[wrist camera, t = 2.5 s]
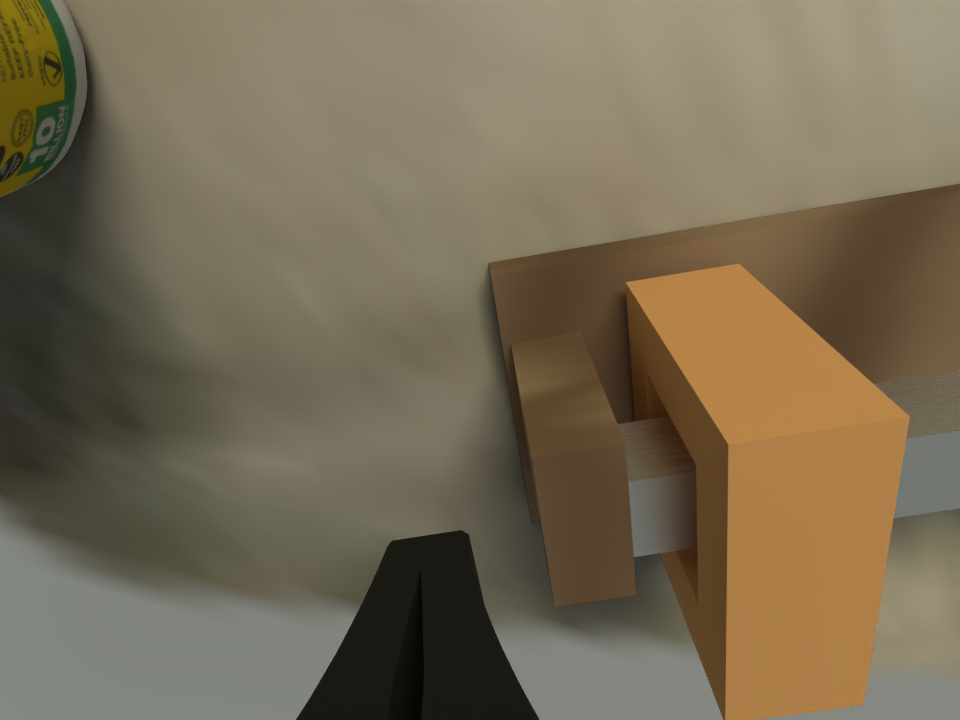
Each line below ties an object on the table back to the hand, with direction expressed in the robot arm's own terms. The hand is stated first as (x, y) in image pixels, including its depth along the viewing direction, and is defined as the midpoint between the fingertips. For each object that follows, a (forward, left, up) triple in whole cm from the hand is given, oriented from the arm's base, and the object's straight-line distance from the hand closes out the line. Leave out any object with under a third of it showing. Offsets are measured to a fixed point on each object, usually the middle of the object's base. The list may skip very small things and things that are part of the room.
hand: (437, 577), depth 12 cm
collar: (-6, 0, -5) cm, 7 cm away
